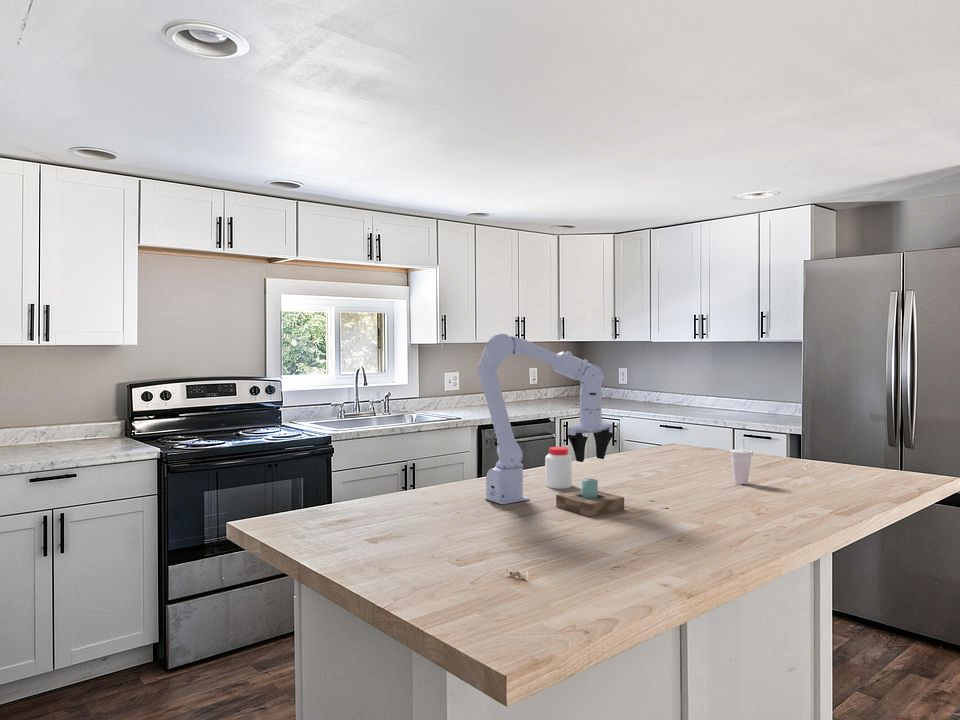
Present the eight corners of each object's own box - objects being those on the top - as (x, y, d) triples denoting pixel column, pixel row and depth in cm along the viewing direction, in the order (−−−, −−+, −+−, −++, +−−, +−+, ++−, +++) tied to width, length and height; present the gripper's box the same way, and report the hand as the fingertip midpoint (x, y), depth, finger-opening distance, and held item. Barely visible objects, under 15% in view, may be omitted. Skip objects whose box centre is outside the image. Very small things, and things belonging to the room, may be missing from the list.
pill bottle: (563, 489, 190) (563, 451, 190) (540, 486, 195) (540, 448, 194) (576, 485, 196) (576, 447, 196) (553, 481, 201) (554, 445, 200)
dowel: (588, 510, 167) (588, 482, 167) (578, 507, 170) (578, 479, 170) (600, 508, 169) (600, 480, 169) (590, 505, 172) (590, 478, 172)
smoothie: (756, 485, 195) (756, 437, 195) (733, 485, 195) (734, 437, 195) (747, 481, 201) (748, 434, 201) (726, 481, 201) (726, 434, 201)
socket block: (589, 516, 161) (589, 504, 161) (556, 506, 171) (556, 494, 171) (624, 509, 168) (624, 497, 168) (590, 500, 178) (590, 488, 178)
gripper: (581, 412, 171) (581, 465, 171) (620, 408, 179) (620, 459, 180) (562, 409, 177) (562, 461, 177) (601, 406, 185) (601, 455, 185)
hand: (590, 460), depth 179 cm, fingers open, 7 cm apart
